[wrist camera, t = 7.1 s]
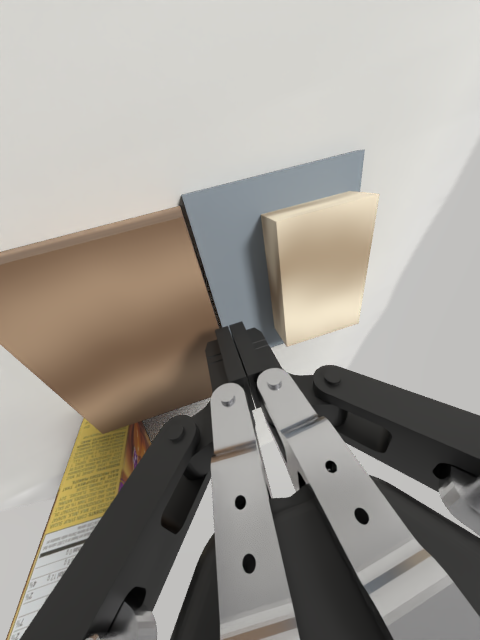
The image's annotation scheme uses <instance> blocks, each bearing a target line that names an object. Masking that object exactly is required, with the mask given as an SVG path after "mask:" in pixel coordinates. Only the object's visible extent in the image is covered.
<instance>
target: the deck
mask: <svg viewBox="0 0 480 640" xmlns="http://www.w3.org/2000/svg"><path fill="white" fill-rule="evenodd" d="M216 329H219V325H218V322H217V319H216V316H215V313H214V310H213V307H212V304H211V301H210V297H209V294H208V291H207V288H206V285H205V282H204V279H203V276H202V273H201V269H200V266H199V263H198V260H197V257H196V254H195V251H194V248H193V244H192V241H191V238H190V235H189V232H188V229H187V226H186V223H185V220H184V216H183V213H182V210H181V207H180V206H177V207H173V208H170V209H166V210H162V211H158V212H154V213H150V214H146V215H142V216H138V217H135V218H131V219H127V220H123V221H119V222H115V223H111V224H107V225H103V226H100V227H96V228H92V229H88V230H84V231H80V232H76V233H72V234H68V235H65V236H61V237H57V238H53V239H49V240H45V241H41V242H37V243H33V244H30V245H26V246H22V247H18V248H14V249H10V250H6V251H2V252H0V344H1V345H2V346H3V347H4V348H5V349H6V350H7V351H9V352H10V353H11V354H12V355H13V356H14V357H15V358H17V359H18V360H19V361H20V362H21V363H22V364H23V365H25V366H26V367H27V368H28V369H29V370H30V371H31V372H33V373H34V374H35V375H36V376H37V377H38V378H39V379H41V380H42V381H43V382H44V383H45V384H46V385H47V386H48V387H50V388H51V389H52V390H53V391H54V392H55V393H56V394H58V395H59V396H60V397H61V398H62V399H63V400H64V401H66V402H67V403H68V404H69V405H70V406H71V407H72V408H74V409H75V410H76V411H77V412H78V413H79V414H80V415H82V416H83V417H84V418H85V419H86V420H87V421H88V422H90V423H91V424H92V425H93V426H94V427H95V428H96V429H98V430H99V431H100V432H101V433H102V434H105V433H108V432H111V431H114V430H116V429H119V428H122V427H125V426H128V425H131V424H134V423H137V422H140V421H143V420H146V419H149V418H151V417H154V416H157V415H160V414H163V413H166V412H169V411H172V410H175V409H178V408H181V407H183V406H186V405H189V404H192V403H195V402H198V401H201V400H204V399H207V398H210V397H211V396H212V386H211V381H210V375H209V370H208V364H207V358H206V353H205V349H206V346H207V343H208V342H210V341H213V340H216V339H217V337H216V333H215V330H216Z"/></svg>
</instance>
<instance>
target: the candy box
mask: <svg viewBox="0 0 480 640" xmlns="http://www.w3.org/2000/svg"><path fill="white" fill-rule="evenodd" d="M150 445H151V442H150V439H149V437H148V435H147V433H146V430H145V428H144V425H143V423H142V421H140V422H137V423H134V424H131V425H128V426H125V427H122V428H119V429H116V430H114V431H111V432H108V433H105V434H102V433H101V432H100V431H99V430H98V429H96V428H95V427H94V426H93V425H92V424H91V423H90V422H88V421H87V420H86V419H85V418H84V419H83V422H82V425H81V427H80V430H79V433H78V436H77V439H76V442H75V444H74V447H73V450H72V453H71V456H70V459H69V461H68V464H67V467H66V470H65V473H64V476H63V478H62V481H61V484H60V487H59V490H58V493H57V496H56V499H55V502H54V504H53V507H52V510H51V513H50V516H49V519H48V522H47V524H46V527H45V530H44V533H43V535H42V538H41V541H40V544H39V547H38V550H37V553H36V556H35V558H34V561H33V564H32V566H31V569H30V572H29V575H28V578H27V581H26V584H25V587H24V589H23V592H22V595H21V598H20V601H19V604H18V607H17V610H16V613H15V616H14V618H13V621H12V624H11V627H10V630H9V632H8V635H7V638H6V640H19V639H20V638H21V636H22V635H23V633H24V632H25V630H26V629H27V627H28V626H29V624H30V623H31V622H32V620H33V619H34V617H35V616H36V614H37V613H38V611H39V610H40V608H41V607H42V605H43V604H44V602H45V601H46V599H47V598H48V596H49V595H50V593H51V592H52V590H53V589H54V587H55V586H56V584H57V583H58V581H59V580H60V578H61V577H62V576H63V574H64V573H65V571H66V570H67V568H68V567H69V565H70V564H71V562H72V561H73V559H74V558H75V556H76V555H77V553H78V552H79V550H80V549H81V547H82V546H83V544H84V543H85V541H86V540H87V538H88V537H89V535H90V534H91V532H92V531H93V530H94V528H95V527H96V525H97V524H98V522H99V521H100V519H101V518H102V516H103V515H104V513H105V512H106V510H107V509H108V507H109V506H110V504H111V503H112V501H113V500H114V498H115V497H116V495H117V494H118V492H119V491H120V489H121V488H122V486H123V485H124V483H125V482H126V481H127V479H128V478H129V476H130V475H131V473H132V472H133V470H134V469H135V467H136V466H137V464H138V463H139V461H140V460H141V458H142V457H143V455H144V454H145V452H146V451H147V449H148V448H149V446H150Z"/></svg>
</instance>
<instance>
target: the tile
mask: <svg viewBox="0 0 480 640" xmlns="http://www.w3.org/2000/svg"><path fill="white" fill-rule="evenodd" d="M378 200H379V194H375V193H365V192H355V191H348V192H344V193H340V194H336V195H333V196H329V197H325V198H321V199H317V200H314V201H310V202H306V203H302V204H298V205H295V206H291V207H287V208H283V209H279V210H276V211H272V212H268V213H264V214H261V221H262V229H263V237H264V245H265V253H266V262H267V270H268V278H269V286H270V294H271V302H272V310H273V319H274V327H275V329H276V331H277V332H278V334H279V335H280V337H281V338H282V340H283V341H284V343H285V345H286V346H287V347H288V346H291V345H294V344H297V343H300V342H303V341H306V340H309V339H312V338H315V337H318V336H321V335H325V334H328V333H331V332H334V331H337V330H340V329H343V328H346V327H349V326H352V325H355V324H358V323H359V317H360V311H361V305H362V298H363V292H364V286H365V280H366V274H367V268H368V262H369V255H370V249H371V243H372V237H373V231H374V225H375V219H376V213H377V206H378Z"/></svg>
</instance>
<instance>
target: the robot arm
mask: <svg viewBox="0 0 480 640" xmlns="http://www.w3.org/2000/svg"><path fill="white" fill-rule="evenodd" d="M229 328H230V330H229ZM230 331H231V333H230ZM215 333H216V337H217V339H216V340H213V341H210V342H208V343H207V346H206V349H205V353H206V358H207V364H208V370H209V375H210V381H211V386H212V396H211V399H210V401H209V403H208V404H207V406H206V407H205V408H204V409H202V410H201V411H200V412H198V413H197V414H195V415H194V416H193V417H189V416H187V415H179V416H176V417H173V418H172V419H170V420H169V421H168V422H166V424H165V425H164V426H163V427H162V429H161V430H160V432H159V433H158V435H157V436H156V437H155V439H154V440H153V442H152V443H151V445H150V446H149V448H148V449H147V451H146V452H145V454H144V455H143V457H142V458H141V460H140V461H139V463H138V464H137V466H136V467H135V469H134V470H133V472H132V473H131V475H130V476H129V478H128V479H127V481H126V482H125V483H124V485H123V486H122V488H121V489H120V491H119V492H118V494H117V495H116V497H115V498H114V500H113V501H112V503H111V504H110V506H109V507H108V509H107V510H106V512H105V513H104V515H103V516H102V518H101V519H100V521H99V522H98V524H97V525H96V527H95V528H94V530H93V531H92V532H91V534H90V535H89V537H88V538H87V540H86V541H85V543H84V544H83V546H82V547H81V549H80V550H79V552H78V553H77V555H76V556H75V558H74V559H73V561H72V562H71V564H70V565H69V567H68V568H67V570H66V571H65V573H64V574H63V576H62V577H61V578H60V580H59V581H58V583H57V584H56V586H55V587H54V589H53V590H52V592H51V593H50V595H49V596H48V598H47V599H46V601H45V602H44V604H43V605H42V607H41V608H40V610H39V611H38V613H37V614H36V616H35V617H34V619H33V620H32V622H31V623H30V624H29V626H28V627H27V629H26V630H25V632H24V633H23V635H22V636H21V638H20V639H19V640H157V627H156V621H155V618H154V615H153V614H152V611H153V608H154V606H155V604H156V602H157V599H158V597H159V595H160V593H161V590H162V588H163V586H164V583H165V581H166V579H167V577H168V574H169V572H170V570H171V567H172V565H173V563H174V561H175V558H176V556H177V553H178V552H179V549H180V547H181V545H182V542H183V540H184V538H185V536H186V533H187V531H188V529H189V526H190V524H191V522H192V520H193V517H194V515H195V512H196V510H197V508H198V506H199V504H200V501H201V499H202V497H203V495H204V492H205V490H206V488H207V485H208V483H209V481H210V479H211V481H212V498H213V515H214V531H215V533H214V534H213V535H212V537H211V538H210V540H209V541H208V543H207V545H206V546H205V548H204V550H203V552H202V554H201V556H200V558H199V561H198V563H197V566H196V568H195V572H194V574H193V577H192V580H191V582H190V585H189V588H188V591H187V594H186V597H185V600H184V602H183V605H182V608H181V611H180V613H179V616H178V619H177V622H176V625H175V627H174V630H173V633H172V636H171V639H170V640H480V538H478V537H477V536H475V535H473V534H472V533H470V532H468V531H467V530H465V529H464V528H462V527H460V526H459V525H457V524H455V523H454V522H452V521H450V520H449V519H447V518H445V517H444V516H442V515H441V514H439V513H437V512H436V511H434V510H432V509H431V508H429V507H427V506H426V505H424V504H422V503H421V502H419V501H417V500H416V499H414V498H412V497H411V496H409V495H408V494H406V493H404V492H403V491H401V490H399V489H398V488H396V487H394V486H393V485H391V484H389V483H387V482H385V481H383V480H381V479H379V478H376V477H373V476H371V475H368V474H367V472H366V471H365V469H364V468H363V467H362V465H361V464H360V463H359V461H358V460H357V459H356V457H355V456H354V454H353V453H352V452H351V450H350V449H349V448H348V446H347V445H346V443H347V444H349V445H351V446H353V447H355V448H357V449H358V450H360V451H362V452H364V453H366V454H368V455H370V456H372V457H374V458H375V459H377V460H379V461H381V462H383V463H385V464H387V465H389V466H390V467H392V468H394V469H396V470H398V471H400V472H402V473H404V474H406V475H407V476H409V477H411V478H413V479H415V480H417V481H419V482H421V483H422V484H425V485H426V486H428V487H430V488H432V489H434V490H436V491H437V492H439V494H440V496H441V499H442V501H443V503H444V504H445V506H446V507H447V509H448V510H449V511H450V513H451V514H452V515H453V516H454V517H455V518H457V519H458V520H459V521H460V522H461V523H463V524H464V525H466V526H467V527H469V528H470V529H472V530H473V531H474V532H475V533H477V534H478V535H479V536H480V416H479V415H476V414H473V413H470V412H468V411H465V410H462V409H459V408H456V407H453V406H450V405H447V404H445V403H442V402H439V401H436V400H433V399H430V398H427V397H425V396H422V395H419V394H416V393H413V392H410V391H407V390H404V389H401V388H398V387H396V386H393V385H390V384H387V383H384V382H381V381H378V380H376V379H373V378H370V377H367V376H364V375H361V374H358V373H356V372H353V371H350V370H347V369H344V368H341V367H338V366H334V365H326V366H322V367H320V368H318V369H317V370H316V371H315V373H314V375H303V376H298V375H293V374H290V373H288V372H286V371H285V370H283V369H282V367H281V366H280V364H279V362H278V361H277V359H276V357H275V355H274V353H273V352H272V350H271V348H270V346H269V345H268V343H267V341H266V340H265V337H264V336H263V334H262V332H261V331H259V330H258V329H256V328H255V327H254V328H251V329H248V330H246V328H245V326H244V324H243V322H242V321H241V322H238V323H235V324H231V325H229V327H228V326H225V327H222V328H219V329H216V330H215ZM231 335H232V336H231ZM232 338H233V339H232ZM251 395H252V396H251ZM252 397H253V400H254V403H255V406H256V409H257V408H260V407H261V408H262V411H263V413H264V416H265V420H266V424H267V426H268V428H269V430H270V432H271V435H272V437H273V439H274V441H275V443H276V445H277V448H278V450H279V452H280V454H281V456H282V458H283V460H284V463H285V465H286V467H287V470H288V473H289V475H290V478H291V480H292V483H293V486H294V488H295V490H296V493H295V494H293V495H292V496H291V497H288V498H272V494H271V490H270V486H269V482H268V478H267V474H266V471H265V466H264V462H263V458H262V454H261V450H260V445H259V441H258V437H257V433H256V429H255V420H254V417H253V413H252V410H254V409H255V407H254V403H253V400H252Z"/></svg>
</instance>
